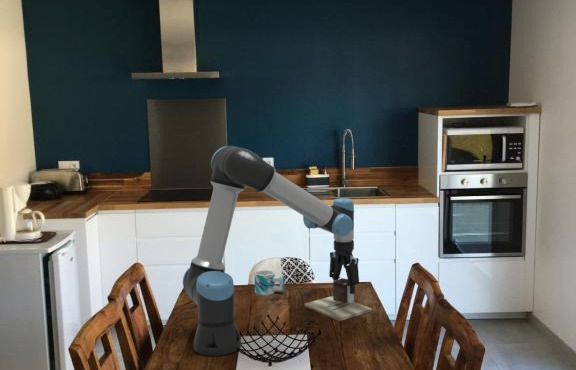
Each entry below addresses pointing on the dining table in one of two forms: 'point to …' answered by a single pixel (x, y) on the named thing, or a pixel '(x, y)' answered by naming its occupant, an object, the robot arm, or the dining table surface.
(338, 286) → the box
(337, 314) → the board
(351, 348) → the dining table surface
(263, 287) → the mug
